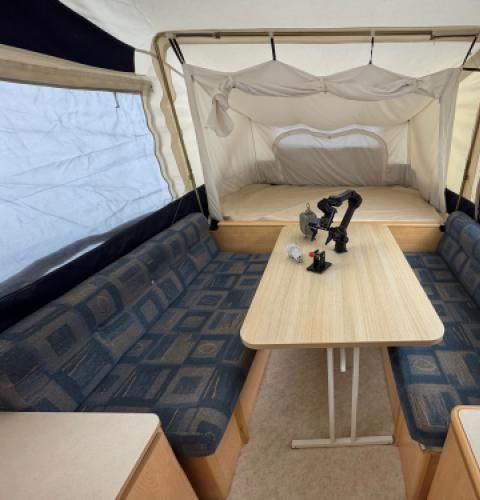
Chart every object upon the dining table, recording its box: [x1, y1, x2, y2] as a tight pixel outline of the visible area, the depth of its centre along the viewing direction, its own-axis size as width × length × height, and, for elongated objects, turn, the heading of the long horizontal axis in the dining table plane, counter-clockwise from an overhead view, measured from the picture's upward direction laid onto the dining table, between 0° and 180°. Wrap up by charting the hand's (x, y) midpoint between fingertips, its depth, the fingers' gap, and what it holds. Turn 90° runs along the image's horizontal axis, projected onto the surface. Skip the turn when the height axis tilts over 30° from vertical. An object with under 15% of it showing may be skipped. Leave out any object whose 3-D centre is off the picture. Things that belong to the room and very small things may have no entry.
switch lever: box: [308, 251, 322, 259], centre depth 141 cm, size 11×3×3 cm, turn 152°
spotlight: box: [285, 242, 305, 263], centre depth 155 cm, size 8×11×8 cm
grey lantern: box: [298, 202, 319, 241], centre depth 181 cm, size 14×9×25 cm, turn 22°
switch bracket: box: [306, 248, 333, 275], centre depth 145 cm, size 12×9×10 cm
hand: (318, 243), depth 144 cm, fingers open, 9 cm apart
